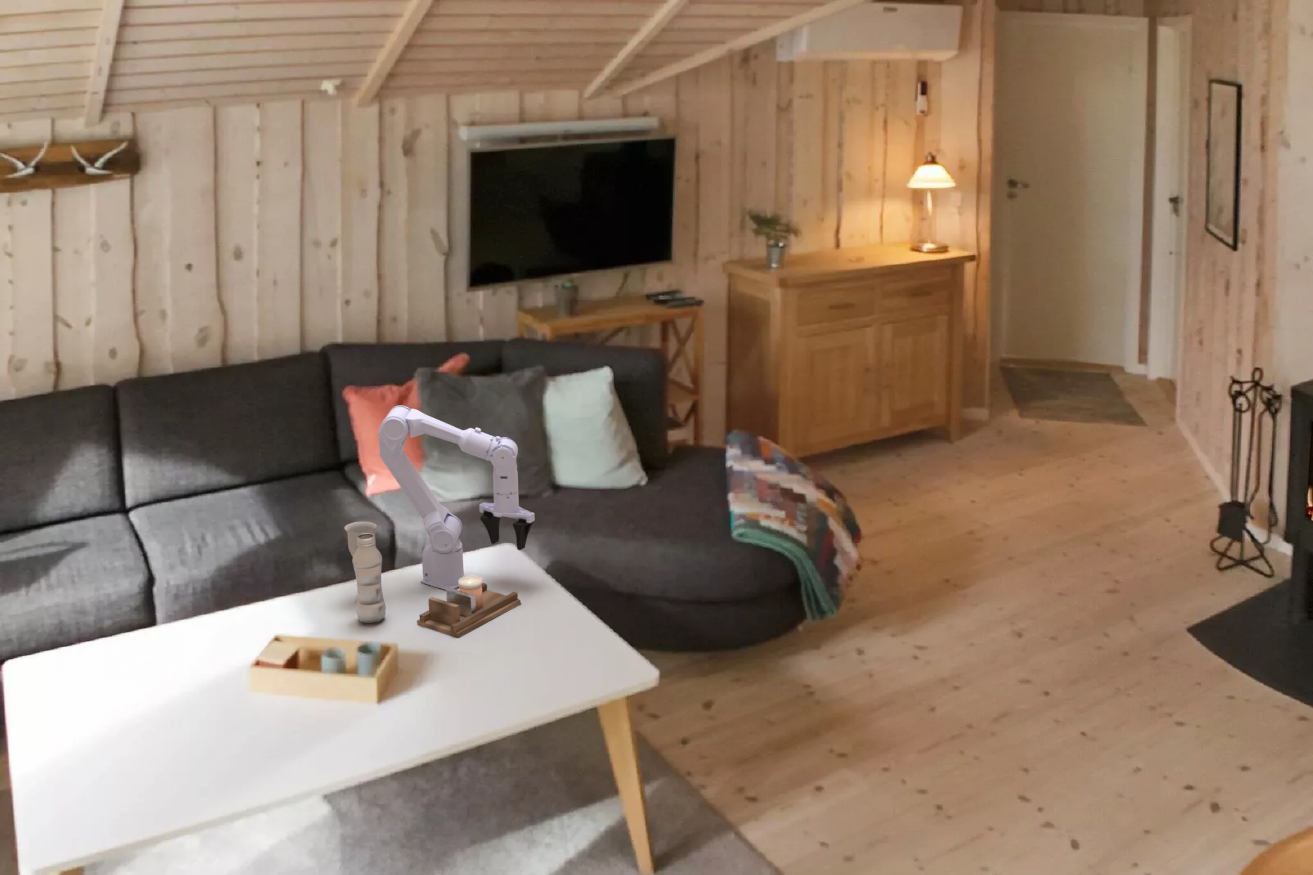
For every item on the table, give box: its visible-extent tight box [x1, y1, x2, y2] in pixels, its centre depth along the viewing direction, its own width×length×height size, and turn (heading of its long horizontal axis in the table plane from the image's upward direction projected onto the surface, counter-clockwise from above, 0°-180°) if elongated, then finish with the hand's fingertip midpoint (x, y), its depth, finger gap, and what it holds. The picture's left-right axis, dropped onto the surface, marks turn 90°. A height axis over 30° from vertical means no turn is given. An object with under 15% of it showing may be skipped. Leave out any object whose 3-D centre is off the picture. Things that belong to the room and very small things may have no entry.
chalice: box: [344, 521, 378, 604], centre depth 301 cm, size 7×7×18 cm
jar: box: [458, 575, 483, 611], centre depth 295 cm, size 5×5×7 cm
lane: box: [416, 582, 522, 639], centre depth 295 cm, size 12×21×6 cm, turn 146°
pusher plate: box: [445, 588, 476, 617], centre depth 293 cm, size 7×2×5 cm, turn 56°
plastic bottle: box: [352, 533, 387, 624], centre depth 290 cm, size 6×7×20 cm
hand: (508, 545), depth 310 cm, fingers open, 7 cm apart
